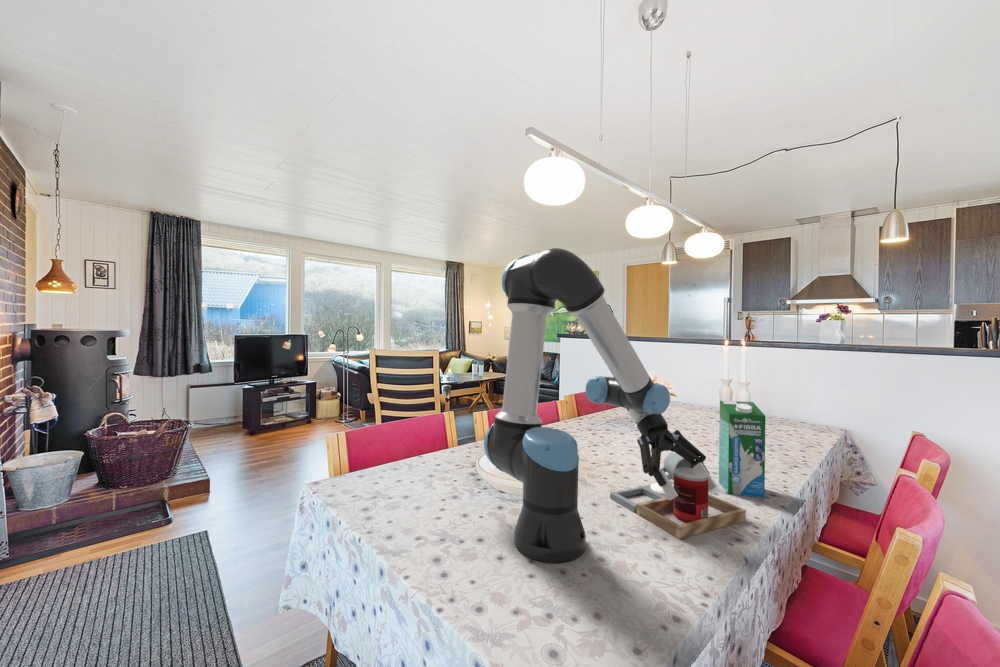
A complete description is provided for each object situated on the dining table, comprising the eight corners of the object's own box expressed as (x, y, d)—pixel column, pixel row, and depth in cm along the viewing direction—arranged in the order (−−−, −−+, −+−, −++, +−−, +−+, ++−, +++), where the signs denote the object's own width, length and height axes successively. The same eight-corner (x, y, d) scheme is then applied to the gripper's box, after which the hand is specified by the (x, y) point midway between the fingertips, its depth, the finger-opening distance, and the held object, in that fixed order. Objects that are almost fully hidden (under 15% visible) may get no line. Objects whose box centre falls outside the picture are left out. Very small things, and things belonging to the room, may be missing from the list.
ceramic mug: (683, 473, 127) (683, 449, 127) (699, 483, 119) (698, 457, 119) (652, 475, 125) (651, 451, 125) (666, 485, 117) (665, 459, 117)
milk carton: (728, 494, 111) (729, 405, 111) (718, 482, 119) (719, 400, 119) (764, 497, 109) (765, 407, 108) (752, 485, 117) (753, 401, 117)
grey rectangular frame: (633, 512, 99) (633, 505, 99) (610, 498, 107) (610, 492, 107) (695, 497, 108) (696, 491, 108) (669, 485, 116) (669, 480, 116)
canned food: (703, 512, 99) (704, 468, 99) (711, 527, 92) (712, 480, 92) (671, 508, 102) (671, 465, 101) (676, 522, 94) (676, 476, 94)
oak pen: (679, 539, 86) (679, 527, 86) (636, 513, 98) (636, 503, 98) (745, 520, 95) (745, 510, 95) (699, 499, 107) (699, 490, 107)
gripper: (672, 422, 118) (718, 491, 104) (606, 431, 107) (647, 508, 94) (688, 408, 113) (737, 478, 99) (620, 415, 103) (665, 495, 89)
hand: (694, 493), depth 97 cm, fingers open, 13 cm apart
